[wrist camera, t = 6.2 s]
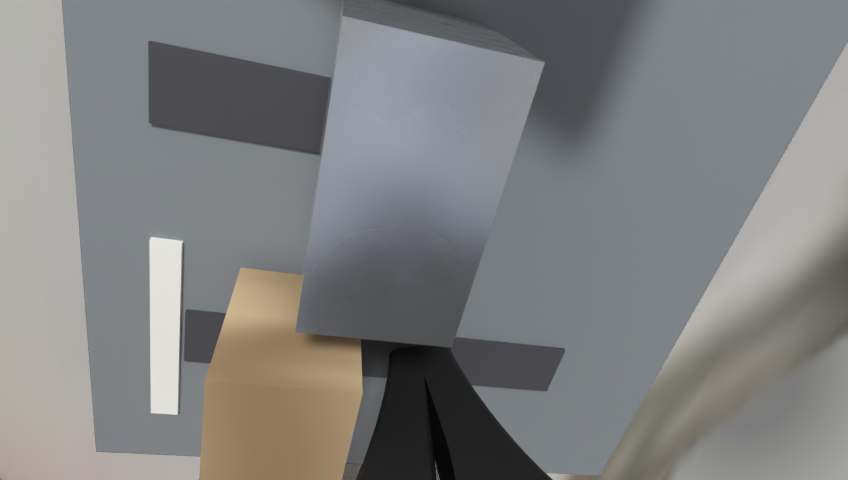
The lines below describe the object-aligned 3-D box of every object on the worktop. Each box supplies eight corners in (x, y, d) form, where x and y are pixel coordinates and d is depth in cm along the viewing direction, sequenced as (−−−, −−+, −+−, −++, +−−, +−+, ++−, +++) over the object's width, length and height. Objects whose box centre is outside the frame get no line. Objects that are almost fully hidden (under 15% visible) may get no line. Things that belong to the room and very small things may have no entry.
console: (960, -335, 9) (1224, -451, 7) (575, 424, 18) (618, 515, 15) (80, -776, 6) (-133, -1345, 4) (124, 392, 15) (73, 499, 12)
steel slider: (485, 23, 9) (545, 62, 6) (425, 244, 11) (451, 347, 8) (344, -11, 9) (343, 15, 6) (308, 228, 11) (295, 332, 8)
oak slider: (358, 281, 11) (362, 393, 9) (328, 427, 13) (323, 555, 11) (240, 267, 11) (204, 381, 8) (227, 421, 13) (195, 554, 10)
